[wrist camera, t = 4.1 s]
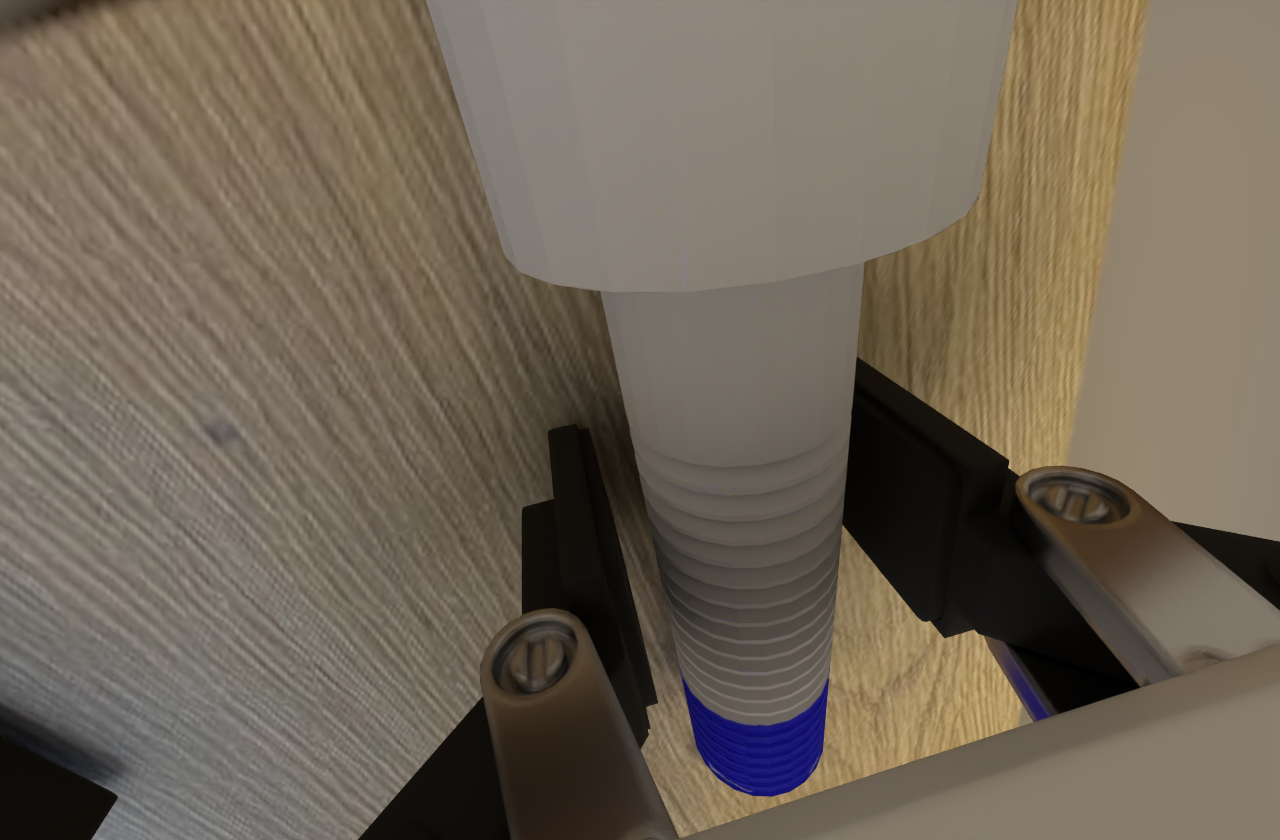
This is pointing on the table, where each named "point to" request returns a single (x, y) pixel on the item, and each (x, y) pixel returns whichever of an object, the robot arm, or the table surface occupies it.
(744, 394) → the bolt
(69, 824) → the vhs tape
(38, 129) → the table surface
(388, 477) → the table surface
